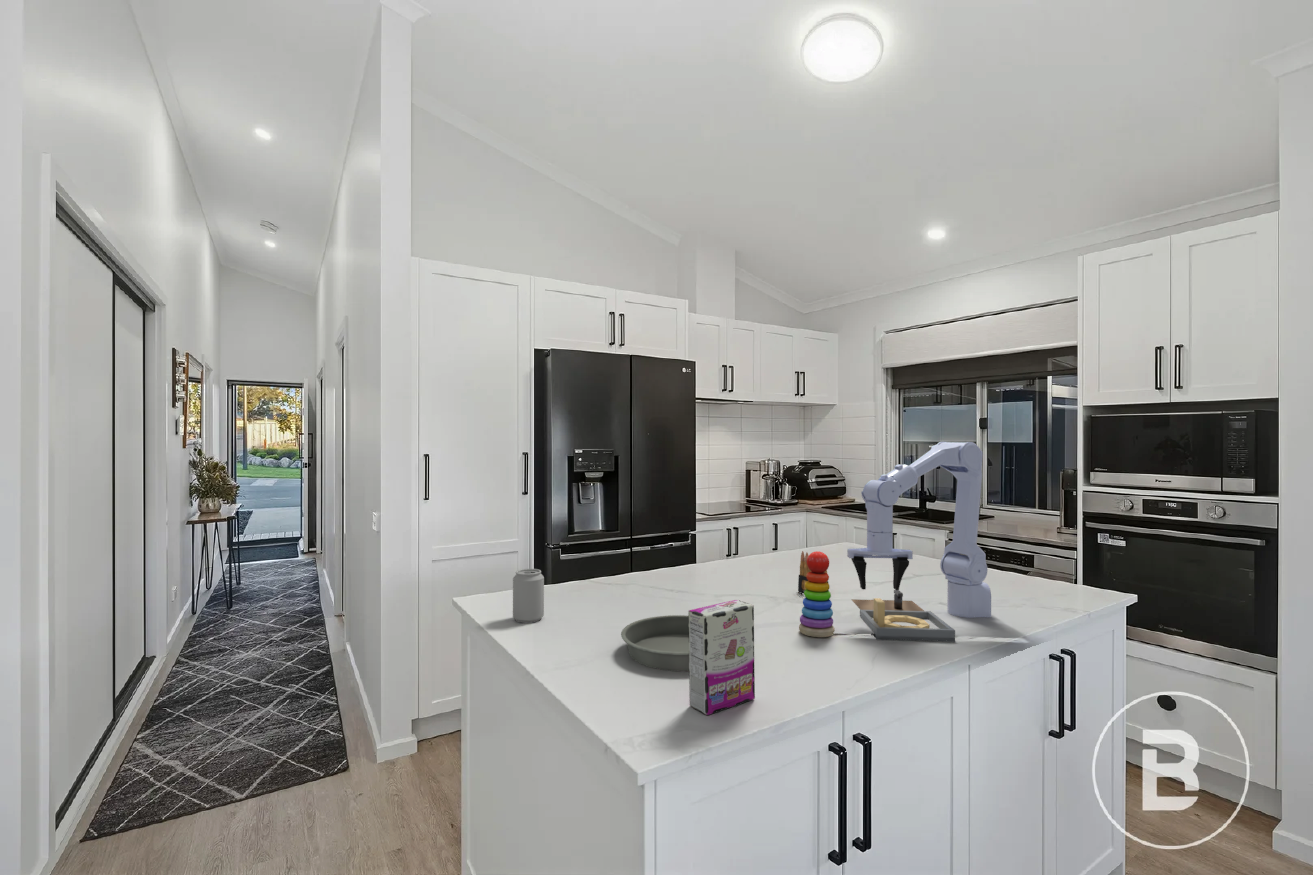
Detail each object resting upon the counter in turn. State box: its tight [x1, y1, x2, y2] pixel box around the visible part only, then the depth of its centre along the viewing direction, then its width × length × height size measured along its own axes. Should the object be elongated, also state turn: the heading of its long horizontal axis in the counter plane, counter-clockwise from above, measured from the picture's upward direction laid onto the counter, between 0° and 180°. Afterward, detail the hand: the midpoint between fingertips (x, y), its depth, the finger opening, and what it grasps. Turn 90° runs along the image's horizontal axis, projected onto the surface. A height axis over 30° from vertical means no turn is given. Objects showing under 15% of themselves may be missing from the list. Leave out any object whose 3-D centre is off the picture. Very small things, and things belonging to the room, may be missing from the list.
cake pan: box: [620, 614, 689, 672], centre depth 132 cm, size 25×25×4 cm
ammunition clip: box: [797, 550, 830, 594], centre depth 178 cm, size 11×2×12 cm, turn 28°
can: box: [512, 568, 545, 624], centre depth 155 cm, size 8×8×12 cm
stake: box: [893, 589, 904, 610], centre depth 162 cm, size 2×4×4 cm, turn 176°
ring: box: [872, 597, 931, 628], centre depth 147 cm, size 12×10×6 cm
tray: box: [859, 609, 956, 643], centre depth 147 cm, size 17×15×2 cm
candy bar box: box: [687, 599, 756, 716], centre depth 107 cm, size 11×5×16 cm, turn 126°
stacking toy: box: [798, 551, 836, 638], centre depth 145 cm, size 8×8×19 cm
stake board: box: [851, 599, 925, 611], centre depth 163 cm, size 16×14×1 cm
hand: (879, 588), depth 148 cm, fingers open, 7 cm apart
